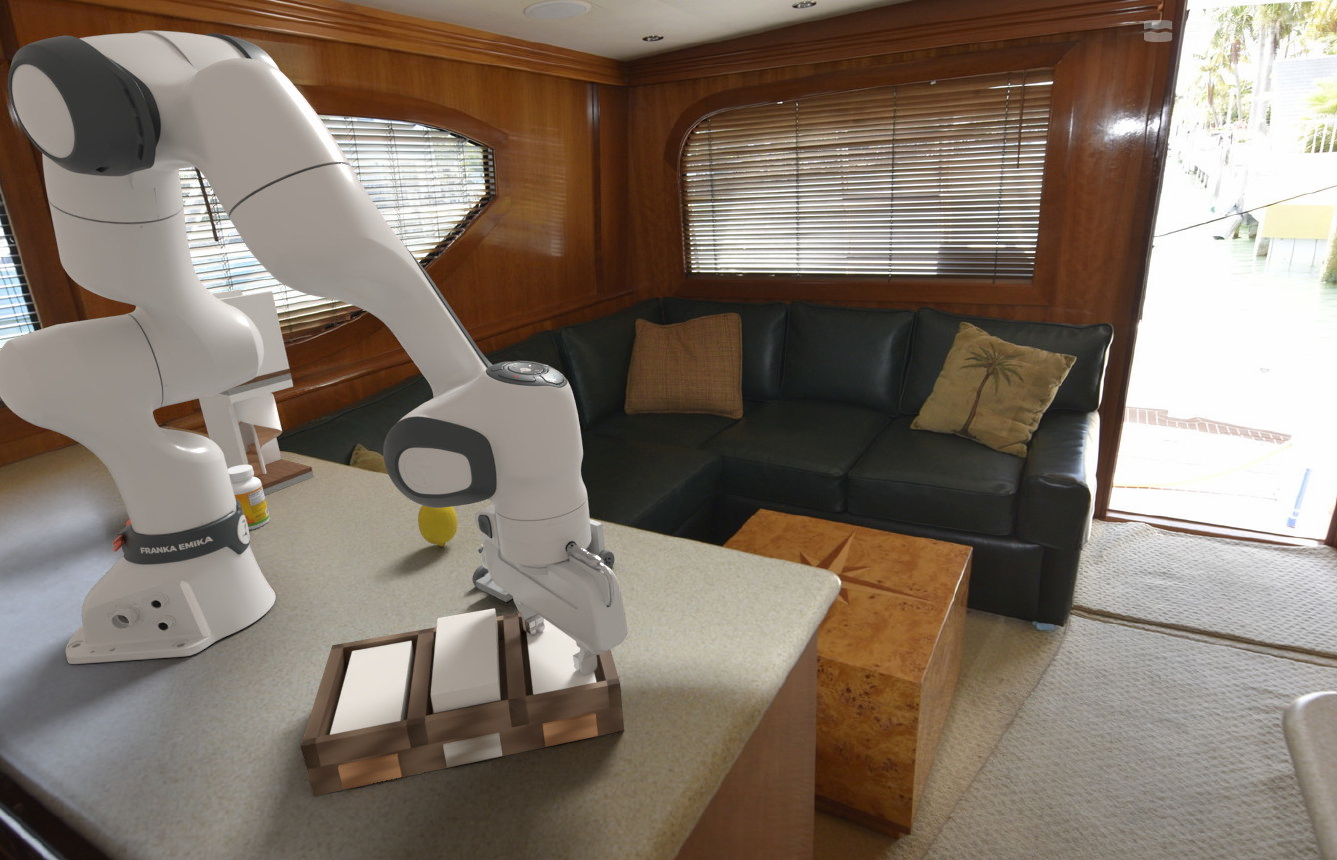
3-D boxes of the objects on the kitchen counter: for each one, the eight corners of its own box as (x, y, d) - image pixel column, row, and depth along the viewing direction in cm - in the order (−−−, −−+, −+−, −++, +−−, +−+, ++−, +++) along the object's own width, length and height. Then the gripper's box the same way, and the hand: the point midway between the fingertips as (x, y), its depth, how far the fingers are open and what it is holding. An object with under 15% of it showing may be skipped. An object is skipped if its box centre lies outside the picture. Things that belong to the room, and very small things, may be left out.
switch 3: (535, 712, 71) (533, 695, 70) (527, 635, 83) (525, 620, 82) (598, 699, 72) (596, 682, 71) (581, 626, 84) (579, 610, 83)
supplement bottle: (226, 529, 121) (211, 473, 118) (254, 515, 126) (240, 461, 123) (249, 533, 119) (235, 477, 116) (277, 519, 124) (264, 464, 121)
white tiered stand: (255, 499, 133) (205, 302, 121) (223, 489, 138) (172, 299, 127) (313, 476, 142) (272, 291, 130) (281, 468, 147) (238, 289, 136)
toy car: (502, 556, 88) (445, 531, 95) (513, 628, 91) (457, 599, 98) (610, 502, 100) (552, 484, 108) (615, 567, 104) (559, 545, 111)
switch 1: (334, 753, 67) (329, 735, 66) (355, 667, 79) (352, 651, 78) (403, 739, 68) (400, 721, 68) (414, 656, 80) (411, 640, 80)
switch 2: (434, 713, 68) (430, 695, 68) (440, 634, 80) (437, 618, 80) (500, 700, 70) (498, 682, 69) (497, 624, 82) (494, 608, 81)
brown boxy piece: (312, 798, 66) (299, 749, 65) (342, 688, 81) (332, 645, 79) (624, 732, 72) (620, 685, 70) (600, 640, 87) (596, 599, 85)
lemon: (450, 555, 108) (442, 505, 106) (415, 554, 110) (406, 504, 107) (467, 538, 114) (459, 489, 111) (434, 536, 115) (425, 488, 112)
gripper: (637, 551, 67) (647, 681, 71) (518, 490, 81) (533, 601, 86) (580, 578, 63) (594, 713, 67) (465, 509, 77) (483, 624, 82)
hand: (559, 649), depth 77 cm, fingers open, 8 cm apart
